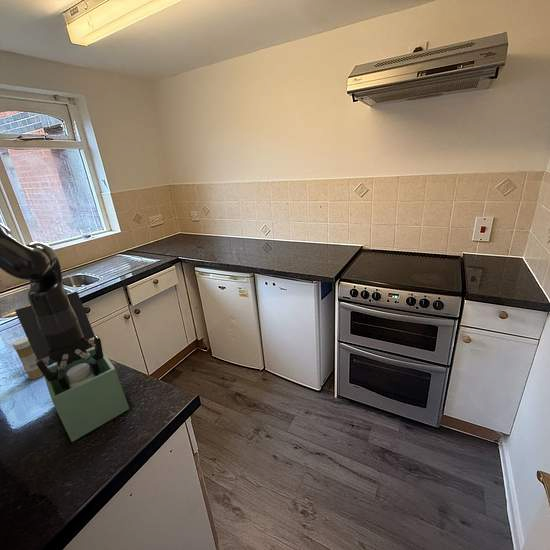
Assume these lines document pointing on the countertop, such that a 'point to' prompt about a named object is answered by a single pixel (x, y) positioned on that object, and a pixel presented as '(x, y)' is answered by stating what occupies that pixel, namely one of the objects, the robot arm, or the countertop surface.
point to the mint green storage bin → (88, 398)
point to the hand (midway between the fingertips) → (82, 381)
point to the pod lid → (34, 334)
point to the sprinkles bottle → (27, 357)
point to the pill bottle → (79, 374)
